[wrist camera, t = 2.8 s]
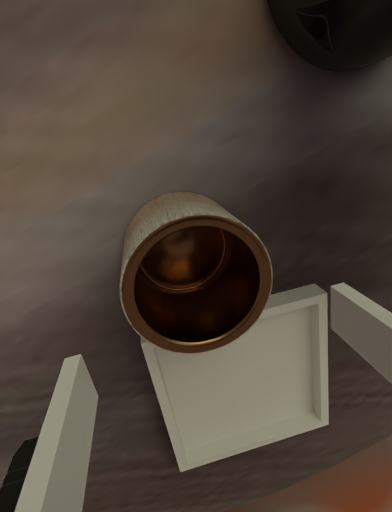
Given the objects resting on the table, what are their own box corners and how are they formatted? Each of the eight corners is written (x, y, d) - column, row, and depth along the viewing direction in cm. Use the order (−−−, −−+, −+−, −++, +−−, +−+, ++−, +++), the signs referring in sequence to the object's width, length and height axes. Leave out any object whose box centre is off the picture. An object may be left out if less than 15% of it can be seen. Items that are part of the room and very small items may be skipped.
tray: (140, 329, 31) (140, 343, 29) (314, 283, 33) (327, 292, 31) (178, 453, 39) (180, 472, 36) (318, 409, 41) (328, 424, 39)
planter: (117, 192, 26) (107, 216, 17) (235, 187, 28) (281, 206, 19) (129, 301, 30) (126, 366, 21) (232, 290, 32) (269, 345, 23)
